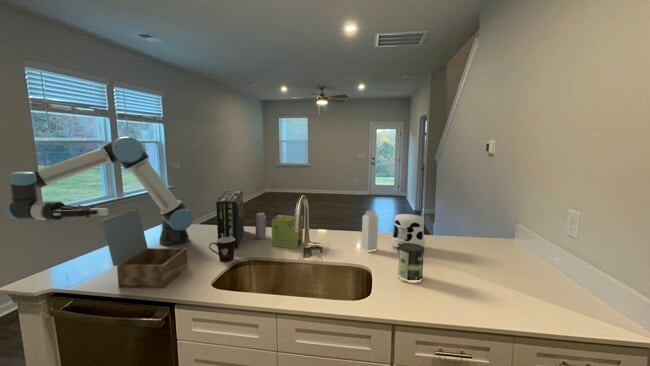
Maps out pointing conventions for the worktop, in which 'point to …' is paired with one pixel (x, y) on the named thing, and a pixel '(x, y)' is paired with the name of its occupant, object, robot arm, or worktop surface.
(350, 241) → the worktop surface
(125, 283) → the walnut box
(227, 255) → the coffee mug
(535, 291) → the worktop surface
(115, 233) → the lid
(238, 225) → the router box
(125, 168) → the robot arm
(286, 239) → the protein box
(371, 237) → the milk
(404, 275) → the coffee can
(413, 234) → the milk container
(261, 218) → the energy drink can
